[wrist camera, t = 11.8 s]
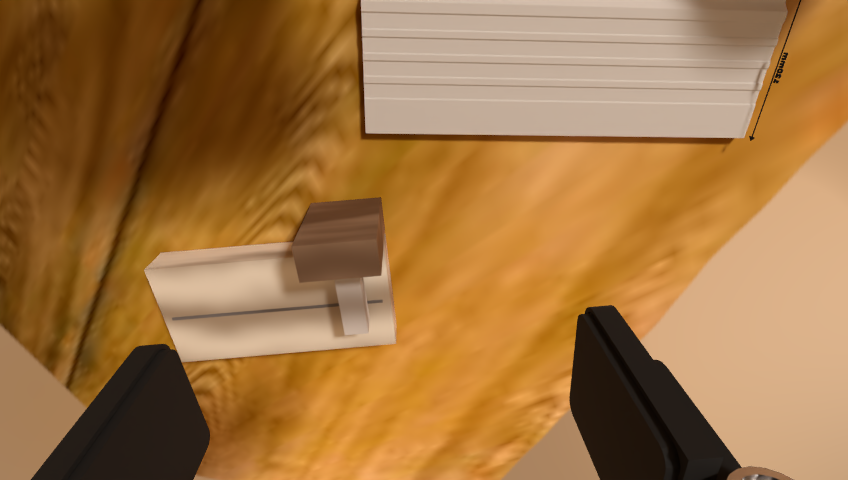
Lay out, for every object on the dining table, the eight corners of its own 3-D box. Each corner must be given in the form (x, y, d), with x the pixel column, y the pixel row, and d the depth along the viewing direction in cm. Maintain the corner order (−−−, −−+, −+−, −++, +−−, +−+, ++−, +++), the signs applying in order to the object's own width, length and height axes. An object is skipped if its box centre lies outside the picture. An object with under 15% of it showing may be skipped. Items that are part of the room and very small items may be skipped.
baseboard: (361, -45, 31) (366, 128, 37) (357, -49, 29) (364, 138, 34) (788, -31, 33) (733, 133, 38) (821, -34, 30) (756, 142, 36)
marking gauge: (311, 203, 39) (291, 246, 32) (380, 197, 39) (376, 239, 32) (330, 299, 43) (316, 356, 36) (392, 294, 43) (391, 350, 36)
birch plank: (161, 252, 40) (143, 270, 38) (385, 233, 40) (384, 249, 38) (195, 341, 45) (181, 362, 42) (396, 323, 45) (396, 343, 42)
